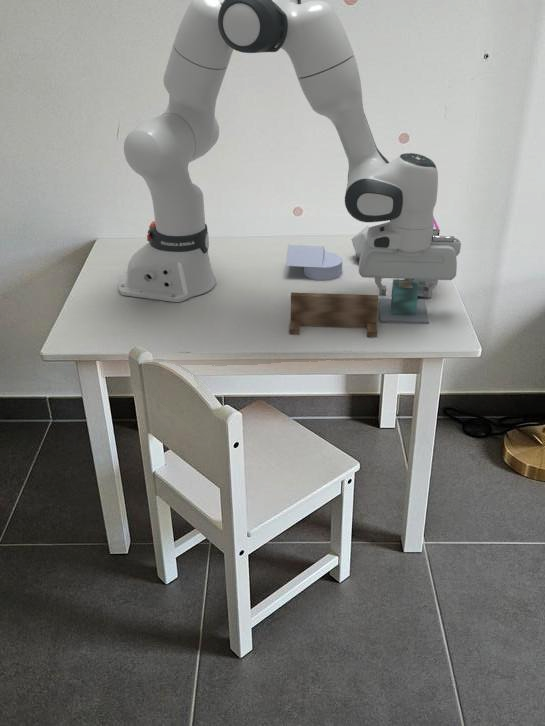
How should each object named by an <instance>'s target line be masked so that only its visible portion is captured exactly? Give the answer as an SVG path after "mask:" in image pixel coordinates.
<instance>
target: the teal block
mask: <svg viewBox="0 0 545 726" xmlns="http://www.w3.org/2000/svg"><path fill="white" fill-rule="evenodd" d="M390 299H391V309H392V315H410V316H416V308H417V300H418V299H419V298H418V285H417V280H405V279H397V278H392V290H391V298H390Z"/></svg>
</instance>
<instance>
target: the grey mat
mask: <svg viewBox="0 0 545 726" xmlns="http://www.w3.org/2000/svg"><path fill="white" fill-rule="evenodd" d="M379 314H380V323H391V324H392V323H393V324H394V323H396V324H398V323H399V324H420V325H421V324H425V325H429V323H430V320H429V315H428V308H427V304H426V299H417V308H416V316H410V315H392V309H391V298H381V297H379Z"/></svg>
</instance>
